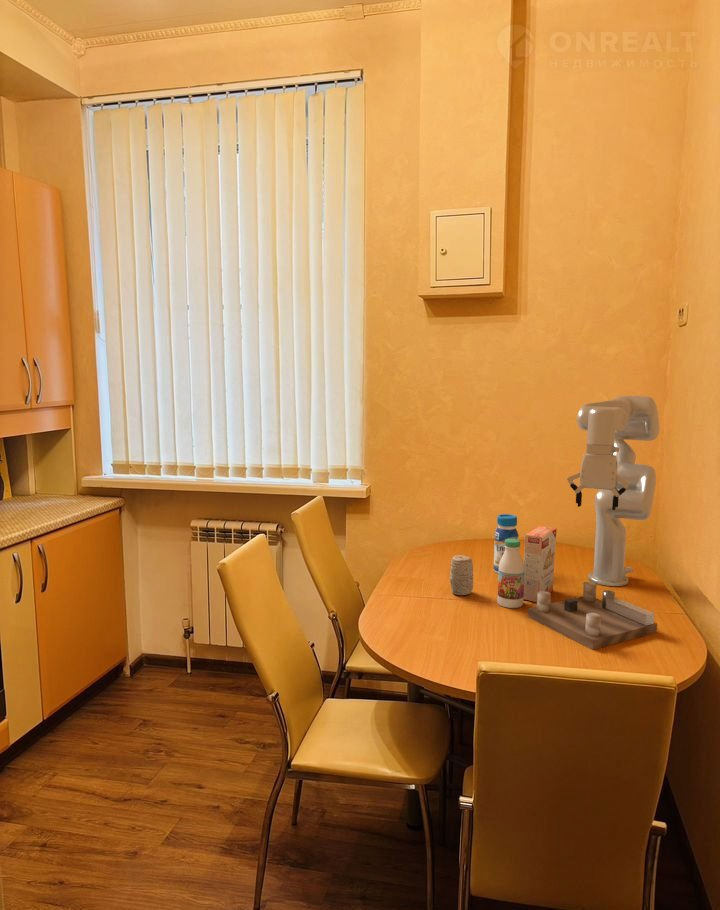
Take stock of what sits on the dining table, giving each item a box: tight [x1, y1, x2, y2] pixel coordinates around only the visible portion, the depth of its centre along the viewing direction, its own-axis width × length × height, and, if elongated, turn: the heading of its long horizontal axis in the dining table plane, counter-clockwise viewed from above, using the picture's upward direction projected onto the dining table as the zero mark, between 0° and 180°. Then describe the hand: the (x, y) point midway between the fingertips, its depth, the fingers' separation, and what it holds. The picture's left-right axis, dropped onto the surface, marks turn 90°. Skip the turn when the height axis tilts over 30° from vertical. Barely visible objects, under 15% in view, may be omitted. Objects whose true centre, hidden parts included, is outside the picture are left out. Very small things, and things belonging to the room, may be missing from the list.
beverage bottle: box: [493, 513, 520, 574], centre depth 219 cm, size 8×8×20 cm
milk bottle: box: [496, 539, 524, 609], centre depth 189 cm, size 8×8×20 cm
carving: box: [449, 554, 474, 596], centre depth 198 cm, size 6×8×12 cm
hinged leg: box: [601, 590, 655, 625], centre depth 175 cm, size 16×3×4 cm, turn 27°
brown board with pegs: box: [527, 581, 658, 651], centre depth 174 cm, size 24×24×8 cm
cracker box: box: [523, 525, 558, 603], centre depth 196 cm, size 14×6×21 cm, turn 146°
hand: (596, 507), depth 185 cm, fingers open, 9 cm apart
